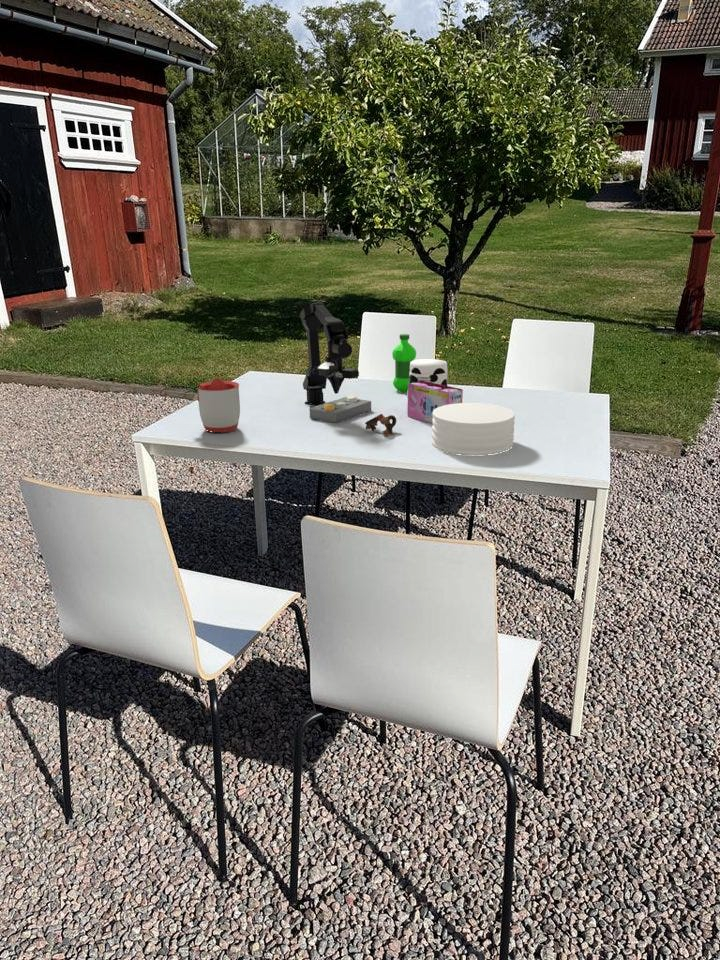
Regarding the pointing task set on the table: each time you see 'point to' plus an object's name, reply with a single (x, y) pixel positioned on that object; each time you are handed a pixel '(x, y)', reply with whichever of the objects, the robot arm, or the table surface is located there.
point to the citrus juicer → (219, 405)
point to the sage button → (341, 404)
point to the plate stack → (473, 428)
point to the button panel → (340, 410)
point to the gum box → (430, 398)
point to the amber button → (329, 407)
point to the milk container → (428, 371)
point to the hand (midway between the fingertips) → (336, 393)
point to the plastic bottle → (403, 363)
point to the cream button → (352, 399)
